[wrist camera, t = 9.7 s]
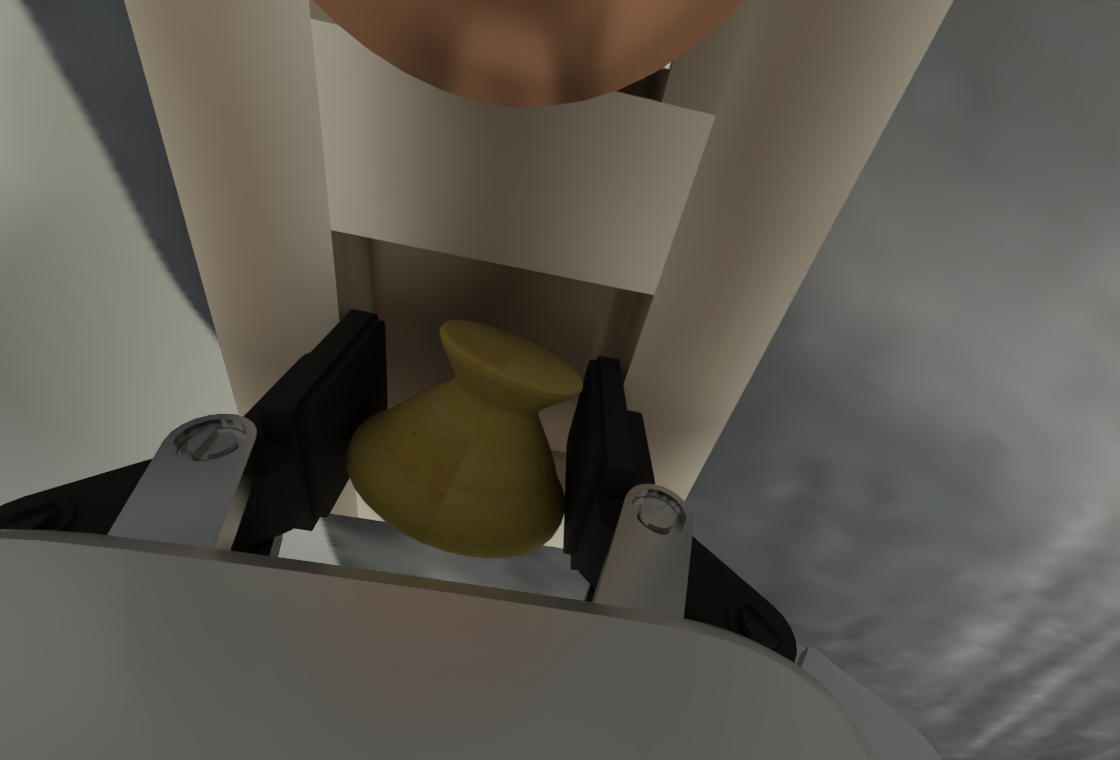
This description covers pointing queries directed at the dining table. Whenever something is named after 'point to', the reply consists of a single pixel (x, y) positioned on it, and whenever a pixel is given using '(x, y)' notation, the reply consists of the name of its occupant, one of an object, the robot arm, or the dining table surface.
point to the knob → (470, 449)
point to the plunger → (529, 42)
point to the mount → (522, 199)
